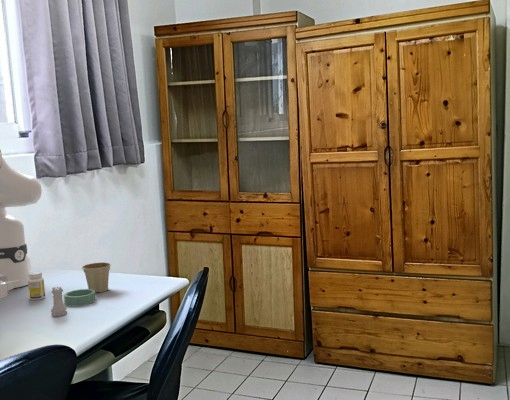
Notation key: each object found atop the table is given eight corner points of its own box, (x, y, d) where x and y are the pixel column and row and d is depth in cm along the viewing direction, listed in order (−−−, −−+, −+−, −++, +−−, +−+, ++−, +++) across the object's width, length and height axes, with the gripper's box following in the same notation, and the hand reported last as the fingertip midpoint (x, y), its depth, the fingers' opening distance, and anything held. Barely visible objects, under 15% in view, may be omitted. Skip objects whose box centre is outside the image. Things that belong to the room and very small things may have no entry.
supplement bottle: (38, 295, 195) (36, 270, 194) (48, 297, 193) (46, 271, 192) (26, 299, 191) (24, 273, 190) (36, 300, 189) (34, 275, 188)
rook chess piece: (48, 314, 172) (46, 288, 171) (62, 311, 175) (60, 285, 175) (55, 317, 169) (53, 290, 168) (70, 314, 172) (67, 287, 171)
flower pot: (105, 294, 192) (103, 268, 191) (78, 294, 194) (76, 268, 193) (117, 287, 201) (115, 262, 200) (92, 286, 203) (90, 262, 202)
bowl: (58, 303, 184) (57, 295, 183) (81, 296, 191) (81, 287, 191) (78, 307, 179) (77, 298, 178) (101, 299, 186) (100, 290, 186)
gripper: (-31, 284, 145) (26, 274, 155) (-54, 273, 161) (-1, 264, 170) (-28, 309, 146) (28, 298, 155) (-51, 296, 161) (1, 286, 170)
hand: (12, 280), depth 163 cm, fingers open, 8 cm apart
